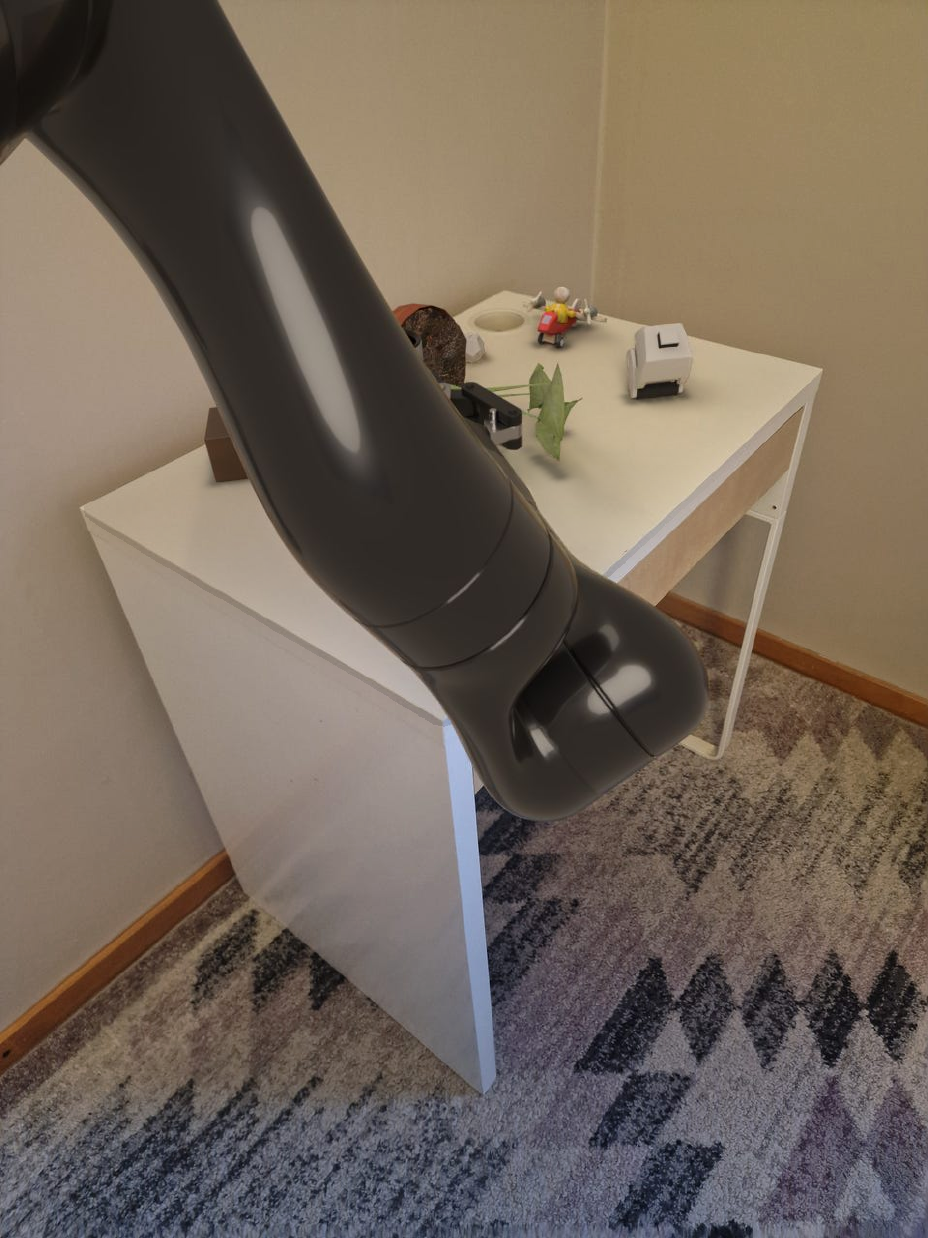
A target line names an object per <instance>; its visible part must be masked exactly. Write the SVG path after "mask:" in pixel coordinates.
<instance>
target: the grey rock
mask: <svg viewBox="0 0 928 1238" xmlns="http://www.w3.org/2000/svg"><path fill="white" fill-rule="evenodd" d="M464 336H465V338H466V340H467V342H466V353H465V354H466V363H470V364H474V363H476V362H478V361H481V359H482V357H483V356H484V354H485V352H486V347H485V341H484V340H483V338H482V337H481V336H480V334H479V333H474V332H467V333H464Z"/></svg>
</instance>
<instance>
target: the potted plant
mask: <svg viewBox="0 0 928 1238" xmlns="http://www.w3.org/2000/svg"><path fill="white" fill-rule="evenodd" d="M392 312H393V313H394V315H395V317H396V318H397V320H398V322H399V323H400V325H401V326H402V328H403V329H408V330H411V331H414V332H416V333H417V334H418V335H419V336H420V337H421V340H422V350H423V361H424V363H425V364H426V366H427V367H428V369H429V370H430V371H433V372H436V373H437V374H438V376H439V377H440V379H441V380H442V381H443V383H447V384H449V385H450V386H451V389H461V385H462V384H464V383H465V382H466V375H467V374H466V373H467V372H466V371H467V370H466V369H467V367H466V365H467V362H466V354H465V353H466V342H467V340H466V338H465V336H464V335H465V333H464V331H463V330H462V327H461V326H460V325H459V324H458V322H457V321H456V319H454V317H453V316H452V315H451V314H450V313H449V312H448V311H447V310H446V309H444V308H441V307H439V306H436V305H432V304H422V303H408V304H403V305H399V306H397V307H396V308H394V309H393V310H392ZM544 369H545V367H544V366H543V365H542V364H541V363H540V362H538V363H537V364H536V365H535V368H534V369H533V371H532V374H531V375H530V377H529V380H528V383H529V384H518V385H507V386H496V387H495V386H494V387H485V388H486V389H488V390H489V391H491V392H493V393H494V392H502V391H507V390H513V389H520V388H525V387H528V389H529V393H528V392H527V393H506V394H497V395H498V396H499V397H501V398H509V397H518V396H528V395H529V402H528V403H529V405H528V408H527V409H526V410H527V412H526V411H524V410H522V415H525V416H527V417H530V418H533V419H535V420H537V421H536V422H535V423H534V426H535V427H534V428H535V437H536V438H537V440H538V442H539V443H540V444H541V446H542V448H543V450H545V451H546V452H547V453H549V455H550V456H551V457H553V459H556V461H558V462H560V455H561V442H562V441H563V440H564V439H563V438H564V431H565V424H566V422H567V419H568V416H569V415H570V412H571V411H572V409H573V408H574V407H575V406H576V405H577V403H578V402H580V401H581V400H583V397H581V398H579V399H575V400H572V401H565V393H564V392H565V389H564V383H563V375H562V372H561V369H560V365H559V362H557V363H556V366H555V369H554V372H553V376H552V378H551V379H550V378H549V376H548V375H547V373H546V372H545V370H544ZM533 409H539V410H540V411H539V415H538V416H536V415H534V414H531V413H530V411H531V410H533Z"/></svg>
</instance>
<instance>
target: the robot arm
mask: <svg viewBox="0 0 928 1238" xmlns="http://www.w3.org/2000/svg"><path fill="white" fill-rule="evenodd" d="M25 139H26V140H27V141H28V142H29V143H30V144H31V145H33V146H34V148H36V149H37V150H38V151H39V152H40V153H41V154H42V155H43V156H44V157H45V158H46V159H47V160H48V161H49V162H50V163H51V164H52V165H53V166H54V167H55V168H57V169H58V170H59V171H60V172H61V173H62V174H63V175H64V176H65V177H66V178H67V179H68V180H69V181H70V182H71V183H72V184H73V185H74V187H76V188H77V189H78V191H79V192H80V193H82V195H83V196H84V197H85V198H86V199H87V200H88V201H89V202H90V203H91V204H92V206H93V207H94V208H95V209H96V211H97V212H98V213H99V214H100V215H101V216H102V217H103V219H104V220H105V221H106V222H107V223H108V225H109V226H110V227H111V228H112V229H113V231H114V232H115V233H116V235H117V236H118V237H119V239H120V240H121V242H123V244H124V245H125V247H126V248H127V249H128V251H129V252H130V253H131V254H132V256H133V257H134V259H135V260H136V262H137V264H138V265H139V266H140V267H141V269H142V271H143V272H144V274H145V275H146V277H147V278H148V279H149V281H150V283H151V284H152V285H153V287H154V289H155V290H156V292H157V294H158V296H159V298H160V299H161V301H162V302H163V304H164V306H165V308H166V310H167V311H168V313H169V314H170V316H171V318H172V320H173V321H174V323H175V325H176V327H177V328H178V330H179V332H180V334H181V335H182V337H183V339H184V341H185V342H186V345H187V347H188V349H189V351H190V352H191V355H192V357H193V359H194V361H195V362H196V365H197V367H198V369H199V371H200V373H201V375H202V377H203V379H204V380H203V381H204V382H205V384H206V386H207V388H208V390H209V392H210V395H211V397H212V399H213V402H214V404H215V407H217V409H218V411H219V413H220V416H221V418H222V420H223V422H224V425H225V427H226V429H227V432H228V434H229V436H230V439H231V441H232V443H233V445H234V447H235V450H236V452H237V454H238V456H239V458H240V461H241V463H242V465H243V467H244V469H245V472H246V474H247V476H248V478H247V479H248V481H249V482H250V484H251V487H252V488H253V491H254V492H255V494H256V496H257V498H258V500H259V503H260V504H261V506H262V508H263V510H264V512H265V514H266V517H267V518H268V520H269V521H270V524H271V525H272V526H273V528H274V530H275V533H276V534H277V535H278V537H279V538H280V540H281V542H282V543H283V544H284V546H285V547H286V549H287V550H288V552H289V553H290V554H291V556H292V557H293V559H294V560H295V562H297V564H298V565H299V566H300V568H301V569H302V570H303V571H304V572H305V574H306V575H307V576H308V577H309V579H311V580H312V581H313V583H314V584H315V585H316V586H318V588H320V590H321V591H322V592H323V593H324V594H325V595H326V596H327V597H328V598H329V599H330V600H331V601H332V602H333V603H334V604H335V605H337V606H338V607H339V608H340V609H341V610H342V611H343V612H344V613H345V614H346V615H347V616H349V617H350V618H352V619H353V620H354V621H355V622H356V623H357V624H359V625H360V626H361V627H362V628H363V629H364V630H365V631H367V632H368V633H369V634H370V635H371V636H372V637H373V638H374V639H376V640H377V641H378V642H379V643H380V644H381V645H382V646H384V647H385V648H386V649H387V651H390V653H392V655H394V656H395V657H396V658H397V659H399V661H400V662H402V663H403V664H404V665H405V666H406V667H407V668H409V670H410V671H411V672H413V673H414V675H415V676H416V677H417V678H418V679H419V680H420V681H421V682H422V683H423V685H424V686H425V687H426V688H427V689H428V690H427V691H429V692H430V694H431V696H433V697H434V699H435V701H436V702H437V703H438V705H439V706H440V707H441V709H442V711H443V712H444V713H445V715H446V717H447V718H448V720H449V722H450V724H451V725H452V727H453V729H454V731H455V733H456V735H457V737H458V739H459V742H460V744H461V746H462V748H463V750H464V752H465V755H466V756H467V758H468V761H469V762H470V765H471V766H472V768H473V770H474V772H475V774H476V775H477V777H478V779H479V780H480V782H481V784H482V785H483V787H484V788H485V790H486V791H487V792H488V794H489V795H490V796H491V798H492V799H493V800H494V801H495V802H496V803H497V804H498V805H499V806H501V808H502V809H504V810H505V811H507V812H508V813H510V814H512V815H514V816H515V817H518V818H520V819H524V820H527V821H531V822H537V823H552V822H560V821H563V820H566V819H569V818H571V817H572V816H575V815H577V814H579V813H580V812H582V811H583V810H585V809H586V808H588V807H589V806H590V805H592V804H594V803H595V802H596V801H597V800H599V799H601V798H602V797H603V796H604V795H606V794H608V793H609V792H611V790H613V789H614V788H616V787H617V786H619V785H621V784H622V783H623V782H625V781H626V780H627V779H629V778H631V777H632V776H634V775H635V774H636V773H638V772H639V771H640V770H642V769H644V768H646V767H647V766H648V765H650V764H651V763H652V762H654V761H655V758H660V757H661V756H663V755H664V754H666V753H667V752H668V751H670V750H672V749H673V748H675V746H677V745H679V744H680V743H681V742H683V741H684V740H686V739H687V738H688V737H690V735H691V734H692V733H694V732H695V731H696V729H698V727H699V726H700V724H701V723H702V722H703V720H704V719H705V716H706V714H707V711H708V708H709V703H710V693H711V692H710V679H709V674H708V670H707V667H706V664H705V661H704V658H703V657H702V654H701V653H700V651H699V649H698V647H697V646H696V645H695V643H694V642H693V640H692V639H691V637H690V636H689V635H688V634H687V633H686V631H684V629H683V628H682V627H681V626H680V625H679V624H677V622H676V621H675V620H673V619H672V618H671V617H670V616H669V615H667V614H666V613H665V612H664V611H663V610H661V609H659V608H658V607H656V606H655V605H654V604H653V603H651V602H649V601H647V600H646V599H645V598H643V597H642V596H640V595H639V594H637V593H635V592H634V591H632V590H630V589H629V588H626V587H624V585H621V584H620V583H617V582H615V581H614V580H612V579H610V578H608V577H606V576H604V575H603V574H601V573H599V572H597V571H596V570H595V569H592V568H591V567H590V566H589V565H588V564H586V563H584V562H583V561H581V560H580V559H578V557H576V555H574V553H572V552H571V551H570V549H568V547H567V545H565V543H564V542H563V541H562V539H561V538H560V537H559V535H558V534H557V533H556V532H555V530H554V528H552V526H551V524H550V523H549V522H548V521H547V519H546V518H545V517H544V516H543V514H542V513H541V511H540V509H539V508H538V506H537V503H536V501H535V499H534V497H533V495H532V493H531V491H530V489H529V488H528V486H527V485H526V484H525V482H524V480H522V478H521V477H520V476H519V474H518V473H517V471H516V470H515V469H514V468H513V466H512V465H511V463H510V462H509V461H508V460H507V458H506V457H505V456H504V455H503V453H502V452H501V450H500V449H499V448H498V447H497V446H501V447H503V448H504V449H506V450H508V451H509V450H510V451H516V450H519V449H521V448H522V447H523V414H522V411H523V410H522V409H521V408H520V407H518V406H516V405H515V404H513V403H511V402H509V401H508V400H506V399H504V397H499V396H498V395H499V394H496V393H494V392H491V391H489V390H488V389H486V388H487V387H484V386H483V385H481V384H479V383H478V382H475V381H467V382H466V381H465V382H464V384H462V385H461V389H451V386H450V385H449V384H447V383H443V381H442V380H441V379H440V377H439V376H438V374H437V373H436V372H433V371H430V370H429V369H428V367H427V366H426V364H425V363H424V361H423V360H422V358H421V357H420V356H419V354H418V353H417V351H416V349H415V348H414V346H413V344H412V343H411V341H410V340H409V338H408V336H407V335H406V333H405V331H404V330H403V328H402V326H401V325H400V323H399V322H398V320H397V318H396V317H395V315H394V313H393V312H392V311H393V310H392V308H391V306H390V305H389V303H388V301H387V300H386V298H385V296H384V295H383V292H382V291H381V289H380V288H379V286H378V284H377V283H376V281H375V279H374V278H373V276H372V274H371V273H370V271H369V269H368V268H367V266H366V263H365V262H364V261H363V259H362V257H361V255H360V254H359V251H358V250H357V249H356V247H355V245H354V243H353V241H352V240H351V238H350V236H349V234H348V232H347V231H346V229H345V227H344V226H343V223H342V222H341V220H340V218H339V217H338V214H337V212H336V211H335V209H334V207H333V205H332V204H331V202H330V200H329V199H328V197H327V195H326V192H325V191H324V189H323V188H322V186H321V184H320V182H319V180H318V179H317V177H316V176H315V174H314V171H313V170H312V168H311V166H310V164H309V163H308V161H307V159H306V157H305V156H304V154H303V152H302V150H301V149H300V147H299V145H298V143H297V141H296V139H295V138H294V136H293V134H292V132H291V130H290V128H289V126H288V125H287V122H286V121H285V119H284V118H283V116H282V114H281V112H280V110H279V109H278V107H277V105H276V102H275V101H274V100H273V98H272V96H271V94H270V91H269V90H268V89H267V87H266V85H265V83H264V81H263V80H262V78H261V77H260V74H259V73H258V70H257V69H256V67H255V65H254V64H253V62H252V60H251V58H250V57H249V55H248V53H247V51H246V50H245V48H244V46H243V44H242V42H241V40H240V39H239V37H238V35H237V33H236V30H235V29H234V27H233V26H232V23H231V22H230V20H229V18H228V16H227V14H226V12H225V10H224V9H223V6H222V5H221V2H220V1H219V0H0V167H1V166H2V165H3V164H4V163H5V162H6V161H7V160H8V158H9V157H10V156H11V155H12V154H13V153H14V151H16V149H17V148H18V147H19V146H20V145H21V144H22V142H24V140H25Z"/></svg>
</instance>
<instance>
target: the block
mask: <svg viewBox="0 0 928 1238" xmlns="http://www.w3.org/2000/svg"><path fill="white" fill-rule="evenodd" d="M203 441H204V444H205V448H206V452H207V455H208V459H209V463H210V466H211V469H212V473H213V477H214V480H215V482H216V483H220V482H228V481H236V480H244V479H249V478H248V476H247V474H246V472H245V469H244V467H243V465H242V463H241V461H240V458H239V456H238V454H237V452H236V450H235V447H234V445H233V443H232V441H231V439H230V436H229V434H228V432H227V429H226V427H225V425H224V422H223V420H222V418H221V416H220V413H219V411H218V409H217V406H215V407H214V406H213V407H209V408H208V413H207V419H206V426H205V432H204V438H203Z"/></svg>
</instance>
